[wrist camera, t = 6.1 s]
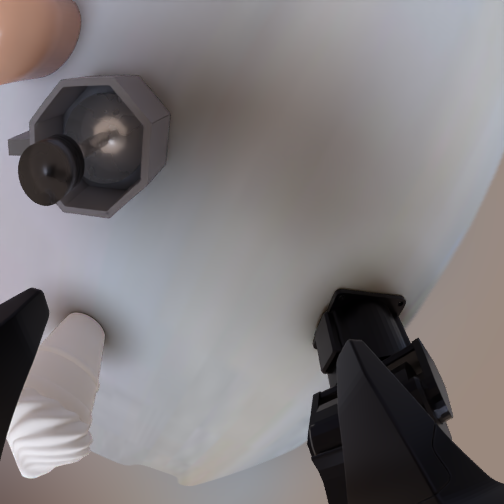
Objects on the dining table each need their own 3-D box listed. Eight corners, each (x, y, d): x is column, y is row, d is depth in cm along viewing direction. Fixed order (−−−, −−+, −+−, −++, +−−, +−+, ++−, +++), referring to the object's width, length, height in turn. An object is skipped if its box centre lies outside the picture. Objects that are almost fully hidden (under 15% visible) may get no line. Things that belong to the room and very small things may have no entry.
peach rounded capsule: (88, -12, 11) (33, -30, 6) (74, 74, 14) (14, 83, 9) (20, 5, 11) (-37, 2, 5) (10, 82, 14) (-49, 97, 9)
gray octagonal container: (175, 77, 15) (157, 78, 12) (163, 197, 19) (146, 223, 16) (40, 80, 14) (5, 87, 11) (41, 184, 18) (12, 205, 15)
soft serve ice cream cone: (65, 278, 22) (-24, 441, 9) (141, 334, 26) (94, 504, 12) (41, 321, 26) (-23, 450, 12) (103, 366, 29) (63, 498, 15)
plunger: (153, 93, 15) (97, 107, 9) (146, 184, 18) (99, 242, 12) (70, 92, 14) (-5, 113, 8) (70, 176, 17) (7, 226, 11)
